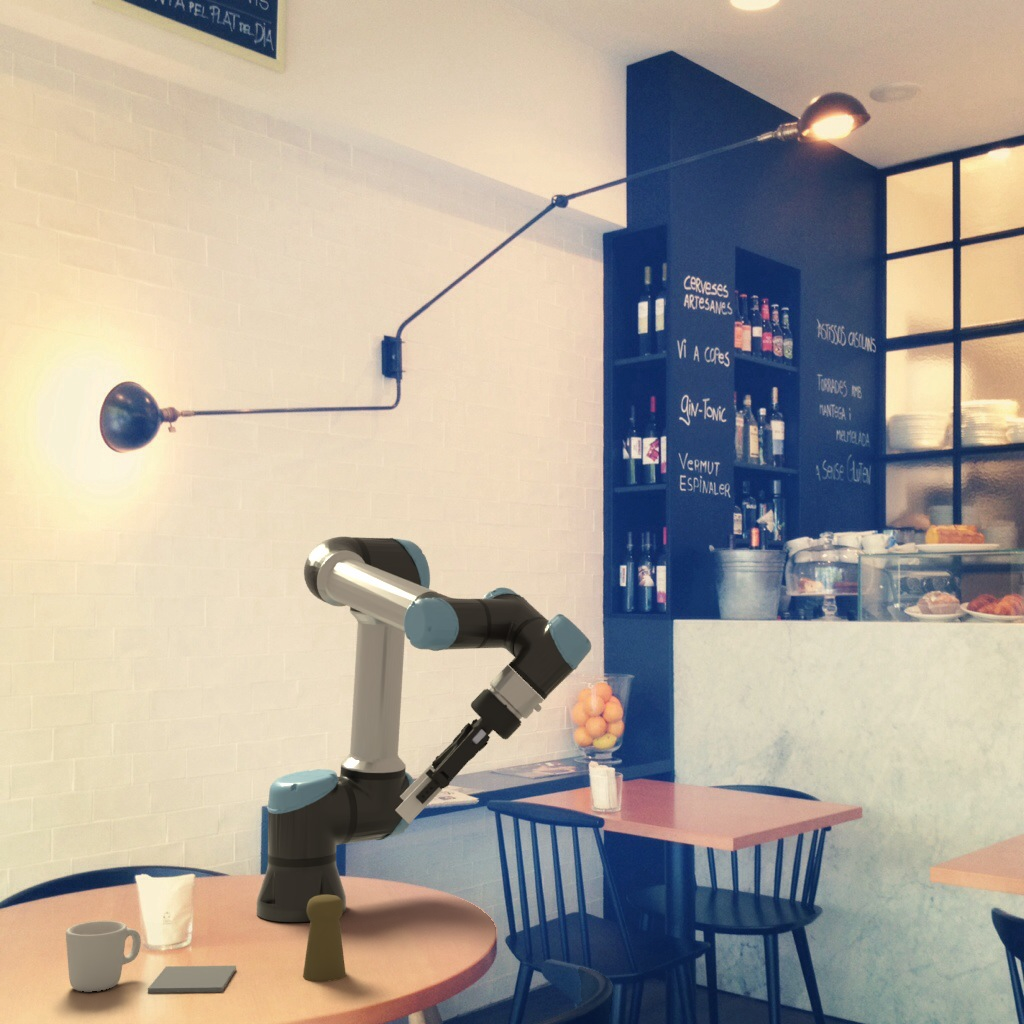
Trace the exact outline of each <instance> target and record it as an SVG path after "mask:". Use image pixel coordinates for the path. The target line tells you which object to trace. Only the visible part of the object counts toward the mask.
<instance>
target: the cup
mask: <svg viewBox="0 0 1024 1024" xmlns="http://www.w3.org/2000/svg"><path fill="white" fill-rule="evenodd" d="M128 937H131V939H132V945H131V946H132V947H131V949H130V952H129V953H128V954H127V955H125V946H126V940H127V939H128ZM65 940H66V953H67V954H66V955H67V964H68V966H67V967H68V969H67V970H68V979H69V983H70V986H71V988H72V989H74V990H75V991H77V992H82V991H84V992H83V993H93V992H92V991H97V992H102V991H101V990H103V991H106V989H107V990H109V988H110V989H113V987H115V986H117V984H118V983H119V982H120V979H121V976H122V970H123V965H126V964H130V963H131V962H133V961H134V960H136V958H137V957H138V955H139V954H140V949H141V935H140V933H139V931H137V929H134V928H130V927H127V925H126V924H125V923H124V922H121V921H116V920H95V921H94V920H93V921H88V922H83V923H82V922H81V923H78V924H73V925H72V926H70V927H68V928H67V929H66V931H65Z"/></svg>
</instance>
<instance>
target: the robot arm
mask: <svg viewBox="0 0 1024 1024" xmlns="http://www.w3.org/2000/svg"><path fill="white" fill-rule="evenodd" d="M303 577H304V582H305V584H306V587H307V588H308V590H309V592H311V594H312V595H313V596H314V597H316V598H317V599H319V600H321V601H322V602H323V603H326V604H327V605H331V606H333V607H346V606H347V607H349V612H350V614H351V615H352V616H353V617H354V618H355V620H356V621H357V629H356V643H355V644H356V647H355V648H356V649H355V665H354V679H353V682H354V683H353V698H352V716H351V731H350V732H351V734H350V750H349V751H350V752H349V754H348V756H346V757H345V758H344V759H343V760H342V761H341V762H340V774H339V776H338V775H337V774H338V773H336V771H334V770H332V769H325V768H324V769H313V770H307V769H306V770H302V771H296V772H293V773H289V774H285V775H282V776H281V777H278V778H276V779H275V780H274V781H273V782H272V783H271V785H270V787H269V793H268V802H267V815H268V816H267V828H268V829H267V867H266V871H265V875H264V878H263V880H262V883H261V887H260V890H259V893H258V895H257V899H256V915H257V916H258V917H259V918H261V919H263V920H267V921H272V922H279V923H280V922H281V923H306V922H307V923H308V922H310V921H311V920H310V919H309V918H308V915H307V905H308V902H309V900H310V899H311V898H313V897H314V896H318V895H335V896H338V897H339V898H341V900H342V902H343V913H345V912H346V910H347V897H346V893H345V889H344V886H343V882H342V880H341V877H340V873H339V870H338V866H337V846H339V845H345V844H353V843H354V844H355V843H360V842H369V841H375V840H376V841H382V840H385V839H388V838H392V837H396V836H399V835H401V834H403V833H405V831H406V830H407V829H408V828H409V827H410V826H411V823H412V822H413V821H414V819H416V818H417V816H418V815H419V814H420V813H421V812H422V811H423V810H425V808H426V807H427V806H428V805H429V804H430V802H431V803H432V801H433V800H434V798H436V797H437V795H438V794H440V793H441V791H442V790H443V789H445V788H446V787H447V788H448V786H449V785H450V783H451V782H452V781H453V780H454V778H455V777H456V776H458V774H459V773H460V771H461V770H462V769H463V768H464V767H465V766H466V765H467V764H468V762H470V761H471V760H472V759H473V758H474V757H475V756H476V755H477V754H478V753H479V752H480V751H482V750H483V749H484V748H485V747H486V746H487V745H488V744H489V741H490V738H491V736H490V734H491V733H492V732H495V733H496V734H497V735H498V736H499V737H500V738H501V739H503V740H509V738H510V737H512V735H513V734H514V733H515V732H516V731H517V730H518V728H520V727H521V725H522V721H521V719H522V718H523V719H528V718H529V717H530V716H531V715H532V714H533V712H534V710H535V711H536V712H540V711H542V706H541V705H540V704H542V703H543V702H544V701H545V700H546V699H547V698H548V697H549V695H550V694H551V693H552V692H554V690H556V688H558V686H559V685H561V684H562V682H564V680H566V679H567V678H568V677H569V676H570V675H571V674H572V673H573V672H574V671H575V670H577V668H578V666H579V665H580V664H581V663H582V662H583V660H584V659H585V658H586V657H587V656H588V654H589V653H590V652H591V650H592V642H591V641H590V639H589V638H588V637H587V635H586V634H584V632H582V630H581V629H580V628H579V627H578V626H577V625H576V624H575V623H573V622H572V621H571V620H570V618H568V617H567V616H565V615H564V614H562V613H557V614H556V615H554V617H553V618H552V619H547V618H546V617H545V616H544V614H542V613H541V612H540V611H538V610H537V609H536V608H535V607H534V606H533V605H531V603H530V602H529V601H528V600H527V599H526V598H524V596H521V595H520V594H518V593H516V592H515V591H514V590H513V589H511V588H507V587H497V588H495V589H494V590H492V591H487V593H486V594H484V596H483V597H482V598H455V597H450V596H447V595H445V594H442V593H439V592H437V591H435V590H432V589H430V585H431V584H430V583H431V572H430V567H429V562H428V559H427V557H426V555H425V554H424V552H423V550H422V549H421V547H419V545H417V543H415V542H413V541H411V540H407V539H400V538H394V537H354V536H353V537H351V536H337V537H331V538H328V539H325V540H324V541H322V542H320V543H319V544H317V545H316V546H315V547H314V548H313V549H311V551H310V552H309V554H308V557H307V558H306V560H305V564H304V569H303ZM405 637H406V639H408V640H409V643H410V645H411V646H412V647H414V648H416V649H419V650H430V651H435V652H438V651H445V650H465V649H466V650H468V649H505V650H507V652H509V654H510V655H512V657H513V659H512V660H511V661H510V662H509V663H508V664H507V665H506V666H505V667H504V668H503V669H502V670H500V672H499V673H498V674H497V675H496V676H495V677H494V678H493V679H492V680H491V681H490V682H489V683H490V684H489V685H490V686H491V687H490V688H489V689H488V688H484V689H483V690H482V691H481V692H480V693H479V695H477V696H476V697H475V698H474V700H472V702H471V703H470V707H471V709H472V710H473V711H474V713H476V715H478V717H480V718H479V719H477V718H475V719H472V721H471V723H470V722H468V723H467V724H465V726H464V727H462V729H461V730H460V732H459V733H458V734H457V735H456V736H455V738H454V739H453V740H452V742H451V743H450V744H449V745H448V746H447V747H446V748H445V749H444V750H443V751H442V752H441V753H440V754H439V755H437V756H436V757H435V759H434V760H433V761H432V763H431V764H429V766H428V767H427V768H426V769H425V770H424V771H423V772H422V773H420V775H419V776H418V777H417V778H416V779H414V778H413V776H412V775H410V773H409V772H407V771H406V769H407V768H406V767H407V766H406V763H404V761H403V759H401V757H399V742H400V741H399V740H400V726H401V706H402V688H403V673H404V671H403V670H404V668H403V667H404V659H405V658H404V655H405V653H404V652H405ZM343 913H342V914H343Z"/></svg>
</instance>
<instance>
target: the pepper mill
mask: <svg viewBox="0 0 1024 1024" xmlns="http://www.w3.org/2000/svg"><path fill="white" fill-rule="evenodd" d="M307 915H308V918H309V919H310V920H311V921H309V922H310V923H309V931H308V937H307V944H306V951H305V960H304V967H303V974H302V978H303V979H304V980H306V979H307V981H310V982H318V983H319V982H320V983H322V982H323V983H325V982H331V981H332V982H333V981H337V980H340V979H343V978H344V977H346V975H345V974H347V973H346V966H345V957H344V956H345V955H344V950H343V947H344V946H343V941H342V932H341V924H340V923H341V921H340V919H341V918H342V916H343V902H342V900H341V898H339V897H338V896H335V895H318V896H314V897H313V898H311V899H310V900H309V902H308V905H307Z"/></svg>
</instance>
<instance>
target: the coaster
mask: <svg viewBox="0 0 1024 1024" xmlns="http://www.w3.org/2000/svg"><path fill="white" fill-rule="evenodd" d="M235 970H236V971H237V965H184V966H183V965H181V966H179V965H178V966H165V967H164V969H162V971H161V972H160V973H159V975H157V977H156V978H155V979H154V980H153V982H152V983H151V984H150V985H149V987H148V988H147V993H148V994H158V993H159V994H160V993H161V994H162V993H165V994H169V993H170V994H171V993H178V994H179V993H222V991H224V990H225V988H226V987H227V985H228V984H227V983H229V982H230V981H231V979H232V977H233V976H234V974H235V972H236V971H235ZM232 975H233V976H232ZM230 978H231V979H230Z"/></svg>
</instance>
